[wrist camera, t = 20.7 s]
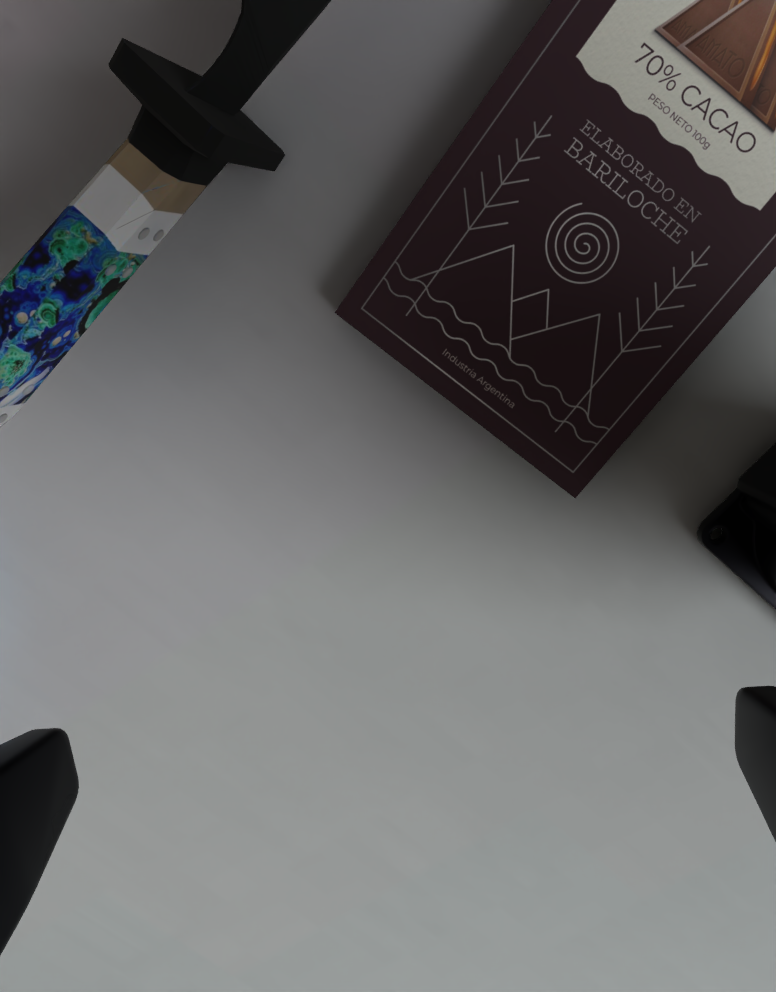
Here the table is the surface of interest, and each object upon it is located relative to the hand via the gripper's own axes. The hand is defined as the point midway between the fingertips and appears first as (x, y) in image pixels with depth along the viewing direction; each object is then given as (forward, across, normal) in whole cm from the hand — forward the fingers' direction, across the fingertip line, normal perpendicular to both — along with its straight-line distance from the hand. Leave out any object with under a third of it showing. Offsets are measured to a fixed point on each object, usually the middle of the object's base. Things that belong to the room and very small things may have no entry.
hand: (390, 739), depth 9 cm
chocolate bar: (+13, -8, -10) cm, 18 cm away
